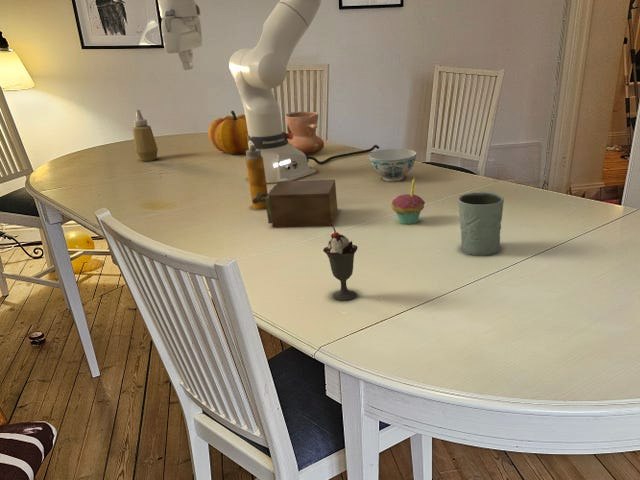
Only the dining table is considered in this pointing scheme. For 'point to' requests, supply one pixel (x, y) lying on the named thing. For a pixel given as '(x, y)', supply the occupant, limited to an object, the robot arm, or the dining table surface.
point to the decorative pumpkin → (229, 134)
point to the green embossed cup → (480, 222)
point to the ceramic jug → (304, 132)
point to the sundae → (341, 263)
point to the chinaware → (392, 163)
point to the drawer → (258, 199)
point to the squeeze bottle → (144, 139)
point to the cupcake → (408, 206)
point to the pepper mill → (256, 175)
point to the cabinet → (303, 203)
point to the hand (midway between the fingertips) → (188, 69)
